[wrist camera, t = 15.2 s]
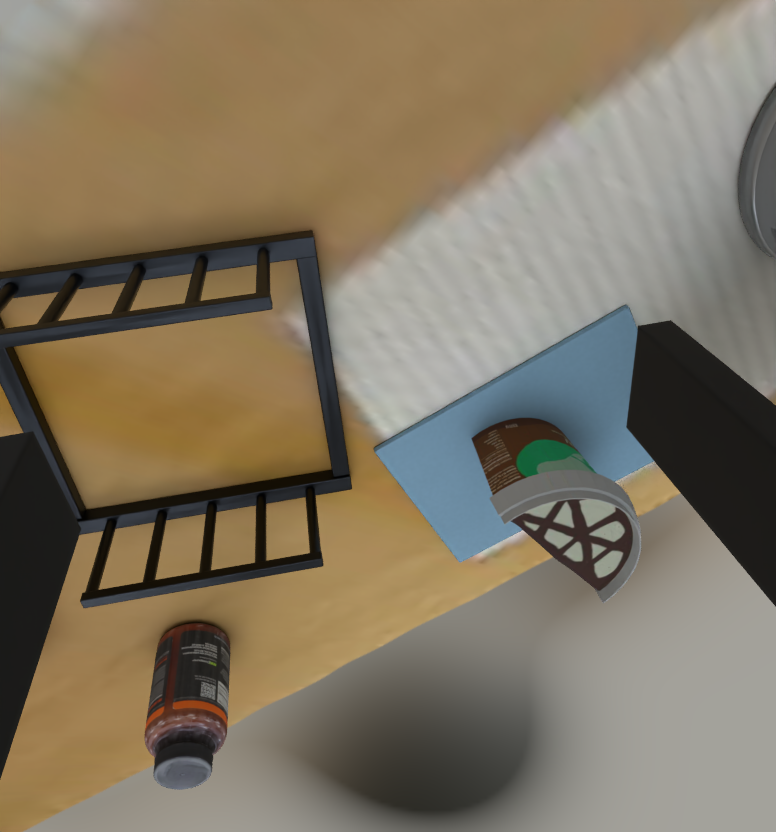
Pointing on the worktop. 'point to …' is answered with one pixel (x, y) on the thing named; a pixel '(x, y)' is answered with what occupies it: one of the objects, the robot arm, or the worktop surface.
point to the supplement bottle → (188, 704)
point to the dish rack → (133, 270)
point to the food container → (561, 501)
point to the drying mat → (521, 398)
